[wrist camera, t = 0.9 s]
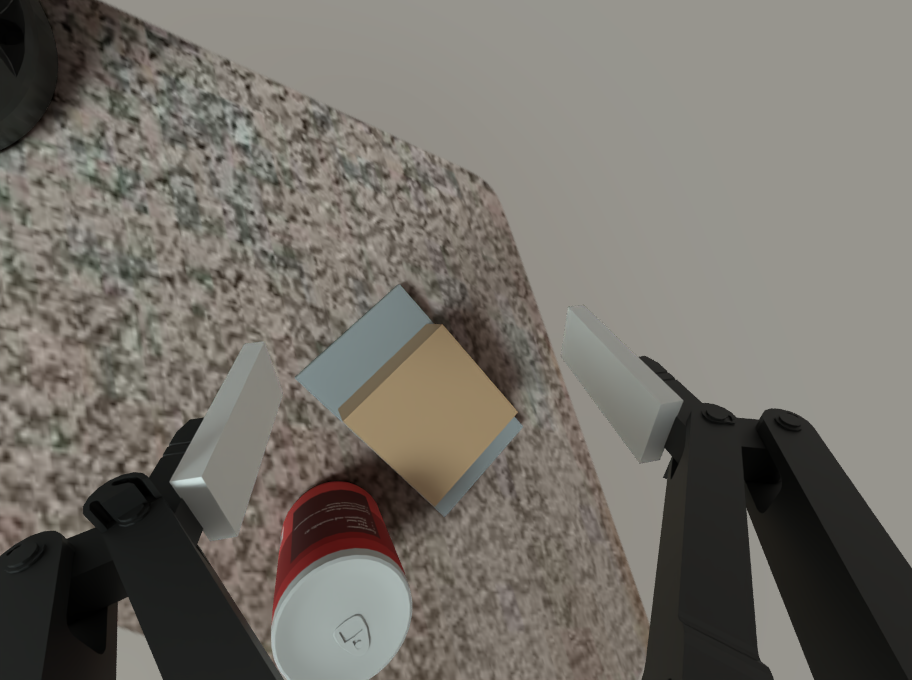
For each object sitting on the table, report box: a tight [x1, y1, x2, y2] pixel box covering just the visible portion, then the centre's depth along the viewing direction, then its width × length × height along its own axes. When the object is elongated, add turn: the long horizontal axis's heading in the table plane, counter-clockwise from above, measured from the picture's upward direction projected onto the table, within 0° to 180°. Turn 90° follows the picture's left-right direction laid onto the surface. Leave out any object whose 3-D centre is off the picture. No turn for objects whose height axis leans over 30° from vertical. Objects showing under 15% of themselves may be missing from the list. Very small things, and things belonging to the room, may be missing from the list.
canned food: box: [271, 481, 412, 680], centre depth 26 cm, size 8×8×11 cm
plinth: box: [295, 284, 523, 517], centre depth 31 cm, size 18×11×5 cm, turn 42°
